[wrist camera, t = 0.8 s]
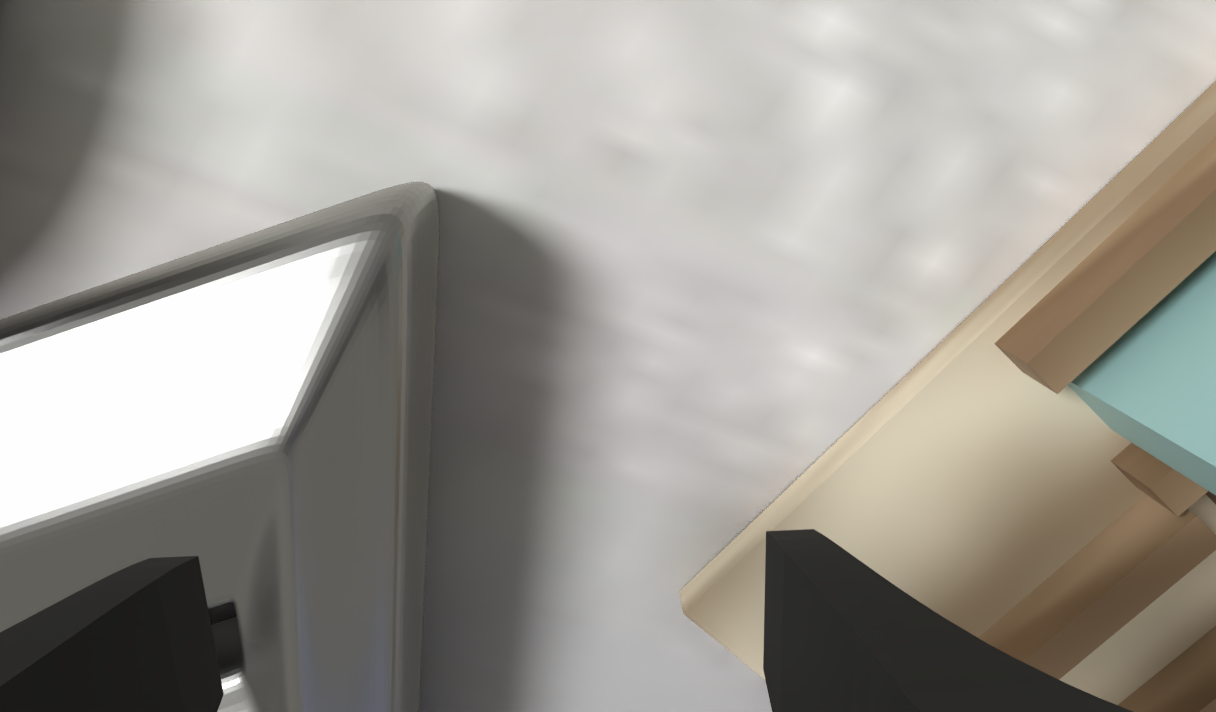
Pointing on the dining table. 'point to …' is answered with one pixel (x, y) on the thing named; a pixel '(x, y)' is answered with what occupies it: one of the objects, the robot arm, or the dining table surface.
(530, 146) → the dining table surface
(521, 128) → the dining table surface
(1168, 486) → the rack
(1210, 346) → the teal panel
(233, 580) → the emblem
